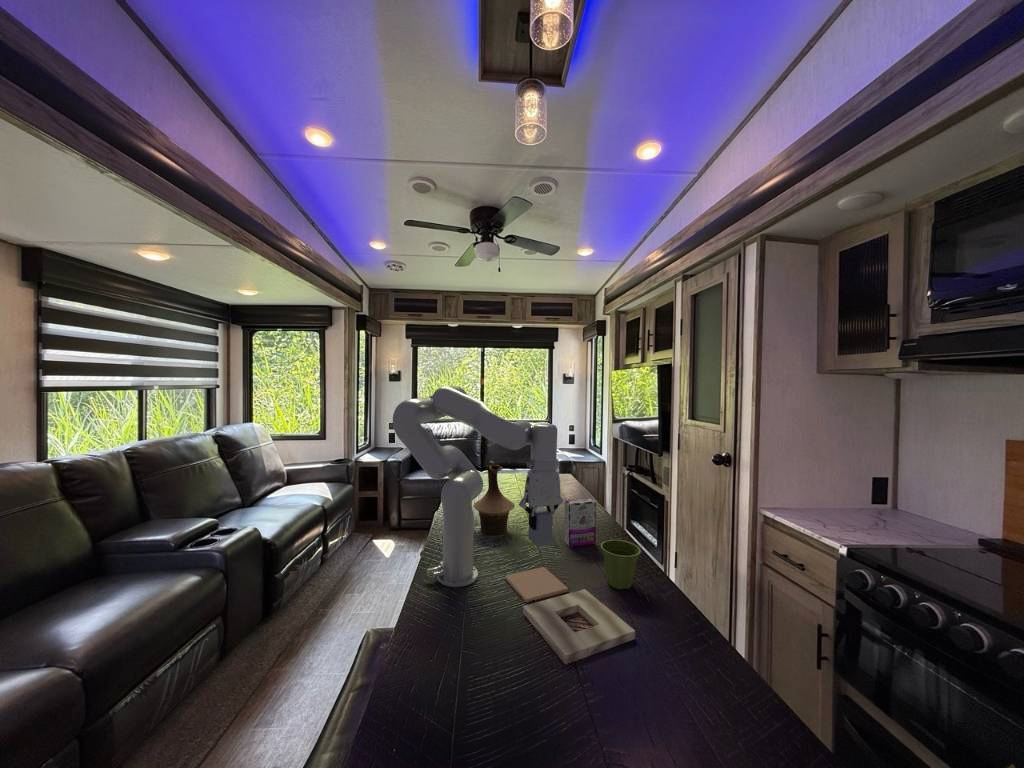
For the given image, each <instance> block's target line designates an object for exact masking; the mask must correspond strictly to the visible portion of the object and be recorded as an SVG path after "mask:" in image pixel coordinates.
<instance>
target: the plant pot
mask: <svg viewBox="0 0 1024 768" xmlns="http://www.w3.org/2000/svg"><path fill="white" fill-rule="evenodd" d="M600 548H601V549H602V554H603V557H604V558H603V559H604V566H605V573H606V574H605V575H606V582H607V584H609V586H610V587H612V588H614V589H617V590H624V589H625V590H629V589H630V588H632V585H633V581H634V575H635V571H636V565H637V562H638V560H639V556H640V555H641V552H642V550H641V548H640V547H639V546H638V545H636V544H635V543H632V542H629V541H626V540H622V539H609V540H608V539H607V540H605V541H602V543H601V544H600Z"/></svg>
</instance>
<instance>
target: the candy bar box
mask: <svg viewBox="0 0 1024 768" xmlns="http://www.w3.org/2000/svg"><path fill="white" fill-rule="evenodd" d="M596 510H597V502H596V501H595V500H594V499H592V498H591V497H589V498H576V499H566V500H564V543H565V545H566V546H567V547H568V548H575V547H583V546H584V547H585V546H591V545H592V544H593V545H596V543H597V542H596V539H597V538H596V534H597V532H596V531H597V529H596V527H597V526H596V519H597V516H596V515H597V513H596Z"/></svg>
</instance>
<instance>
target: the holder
mask: <svg viewBox="0 0 1024 768" xmlns="http://www.w3.org/2000/svg"><path fill="white" fill-rule="evenodd" d="M522 606H523V607H522V614H523V615H524V617H525V618H526V617H527V618H526V619H527V620H528V621H529V623H531V625H532V626H533V627H534V628H535V629H536V631H537V632H538V633H539V634H540V636H541V637H542V638H543V639H544V641H545V642H546V643H547V644H548V646H550V648H551V649H552V651H554V652H555V654H556V655H557V656H558V658H559V659H560V660H561V661H562V662H563V664H564V665H565V664H566V665H569V664H571V662H572V663H574V662H576V661H579V659H580V660H582V659H585V658H587V657H591V656H592V655H595V654H596V655H597V654H598V653H601V652H603V651H606V650H609V649H612V648H615V647H617V646H620V645H622V644H625V643H627V642H630V641H633V640H635V639H636V630H635V629H634V628H633V627H632V626H630V625H629V624H628V623H626V622H625V621H624V620H623V619H622V618H620V617H619V615H617V614H616V613H614V612H613V611H612V610H611V609H609V608H608V607H607V606H606V604H604V603H602V602H601V601H600V600H599V599H597V598H596V597H595V596H594V595H592V594H591V593H590V592H589V591H588V590H586V589H585V588H584V589H581V590H580V589H579V590H577V591H573V592H569V593H566V594H563V595H558V596H554V597H551V598H547V599H545V600H541V601H537V602H533V603H529V604H526V605H522ZM576 613H578V614H579V615H581V616H582V617H583V618H584V619H585V620H586V621H587V622H588V623H589V624H590V625H591V627H588V628H584V629H581V630H578V631H576V632H575V631H574V630H573V629H572V628H571V627H570V626H569V625H568V624H567V623H566V622H565V620H563V619H562V617H563V618H564V617H566V616H569V615H574V614H576ZM568 663H569V664H568Z"/></svg>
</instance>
